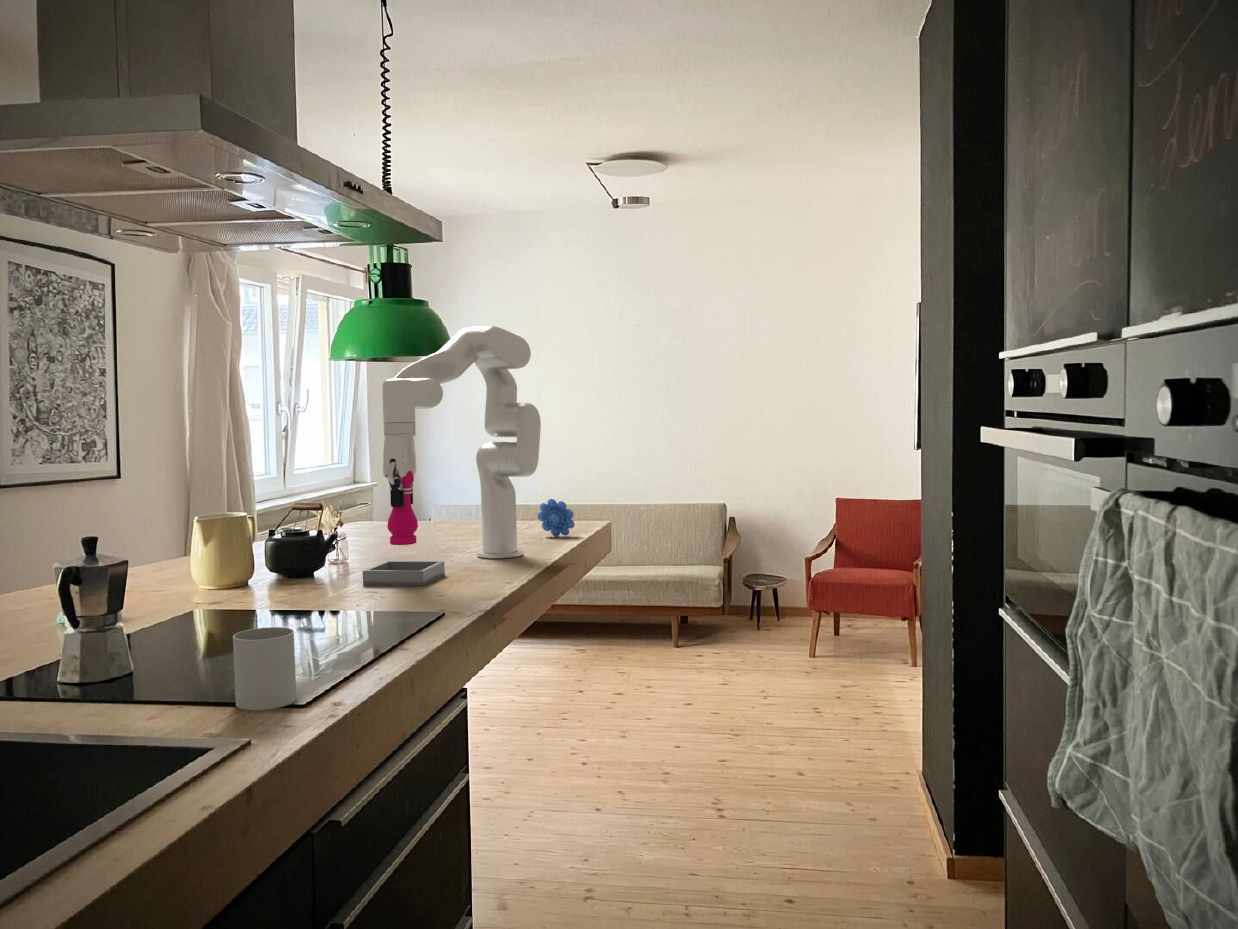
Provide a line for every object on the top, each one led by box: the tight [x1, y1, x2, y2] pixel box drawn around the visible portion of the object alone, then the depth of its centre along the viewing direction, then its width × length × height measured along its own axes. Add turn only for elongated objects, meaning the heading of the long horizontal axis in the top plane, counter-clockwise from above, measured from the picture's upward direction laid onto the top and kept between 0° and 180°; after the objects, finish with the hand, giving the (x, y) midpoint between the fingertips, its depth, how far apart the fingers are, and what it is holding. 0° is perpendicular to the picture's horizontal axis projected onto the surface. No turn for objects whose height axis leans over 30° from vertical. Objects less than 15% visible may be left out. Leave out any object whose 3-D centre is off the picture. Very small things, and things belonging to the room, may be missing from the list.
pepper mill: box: [387, 471, 419, 546], centre depth 249 cm, size 7×7×20 cm
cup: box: [232, 626, 297, 711], centre depth 150 cm, size 8×8×10 cm
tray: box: [362, 560, 446, 587], centre depth 251 cm, size 15×15×4 cm
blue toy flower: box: [537, 498, 575, 537], centre depth 324 cm, size 12×7×12 cm, turn 86°
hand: (402, 504), depth 249 cm, fingers closed on pepper mill, 5 cm apart
